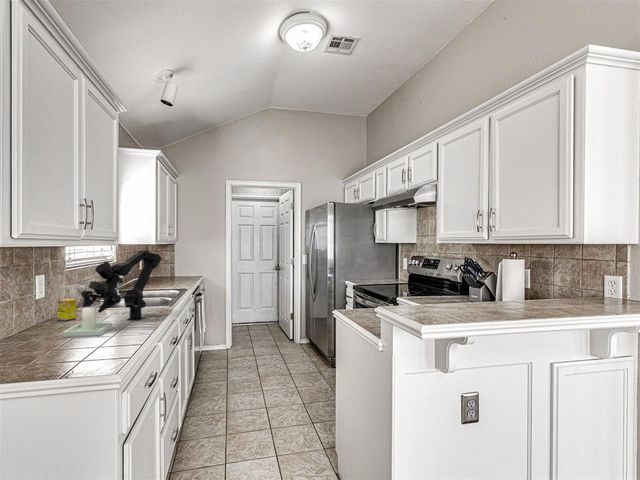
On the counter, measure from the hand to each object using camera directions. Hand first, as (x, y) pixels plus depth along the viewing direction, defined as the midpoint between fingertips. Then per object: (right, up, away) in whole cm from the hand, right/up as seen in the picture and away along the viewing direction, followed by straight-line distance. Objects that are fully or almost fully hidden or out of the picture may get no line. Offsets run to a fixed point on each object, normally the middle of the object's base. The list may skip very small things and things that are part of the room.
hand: (90, 311), depth 168 cm
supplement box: (-27, -9, +23) cm, 37 cm away
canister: (0, -9, -1) cm, 9 cm away
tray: (0, -9, -1) cm, 10 cm away
